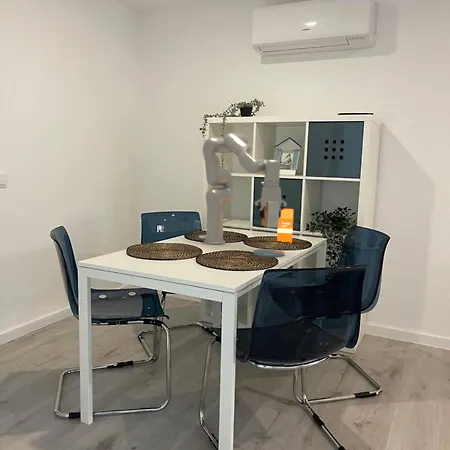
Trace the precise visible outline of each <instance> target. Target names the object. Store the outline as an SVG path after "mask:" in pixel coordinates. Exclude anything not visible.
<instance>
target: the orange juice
mask: <svg viewBox="0 0 450 450" xmlns="http://www.w3.org/2000/svg"><path fill="white" fill-rule="evenodd" d="M293 224H294V209H293V208H284V209H283V210H282V211H281V218H279V224H278V227H277V234H276V235H277V237H276V239H277V240H276V242H277V241H281V242H290V243H289V244H292V242H293V231H294V230H293V228H294V227H293Z"/></svg>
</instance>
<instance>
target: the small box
mask: <svg viewBox="0 0 450 450" xmlns="http://www.w3.org/2000/svg"><path fill="white" fill-rule="evenodd" d="M262 211H263V218H262V219H261V226H264V227H265V228H268V229H269V228H278V224H279V202H266V207H264V208H263V210H262Z"/></svg>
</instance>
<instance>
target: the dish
mask: <svg viewBox="0 0 450 450" xmlns="http://www.w3.org/2000/svg"><path fill="white" fill-rule="evenodd" d="M252 254H253V255H254V256H256V255H257V257H261V256H262V257H263V258H281V257H284V256H285V252H284V250H283V251H282V250H279V249H275V248H274V249H273V248H260V249H259V248H258V249H254V250H253V253H252ZM262 257H261V258H262Z"/></svg>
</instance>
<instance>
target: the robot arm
mask: <svg viewBox="0 0 450 450" xmlns="http://www.w3.org/2000/svg"><path fill="white" fill-rule="evenodd" d="M251 151H252V148H251V146H250V144H249V140H248V137H247V136H246V135H245V134H243V133H239V132H238V133H237V132H229V133H226V134H225V136H224V137H217V136H213V137H209V138H207V139H206V140H204V143H203V146H202V155H203V159H204V163H205V165H204V166H205V176H206V182H207V184H208V185H209V186H212V188H210V189H208V190H206V193H205V202H206V234H204V235H203V234H202V235H201V234H199V235H198V239H201V240H203V243H204V244H208V245H224V244H226V240H224V208H223V207H222V205H228V204H231V203H232V202H233V201H234V198H235V192H234V191H235V190H234V182H233V180H234V179H233V175H232V173H231V171H230V170H228V169H226V168H224V169H223V168H221V162H220V157H219V156H218V155H217V153H218V154H231V153H233V154H234V155H235V156H236V157H237V159H238V162H239V165H240V166H241V167H242V168H243V169H244V170H245V171H246V172H248V173H250V174H252V175H253V174H255V175H258V174H259V175H264V181H261V185H263V186H262V188H261V189H262V190H261V195H260V196H261V197H260V198H259V199H257V200H256V201H254V204H255V207H256V209H258V210H259V217H260V219H261V220H262V218H263V211H262V210H263V208H264V207H266V202H279V218H281V211H282V210H283V209H286V207H287V205H288V202H286V201H285V200H283V199H282V189H281V188H282V187H280V175H281V174H280V173H281V172H280V170H281V169H280V168H281V167H280V166H281V162H280V160H278V159H261V158H253V157H252V156H250V154H251ZM213 186H217V187H213ZM259 203H260V205H259ZM282 204H283V205H282Z"/></svg>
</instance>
